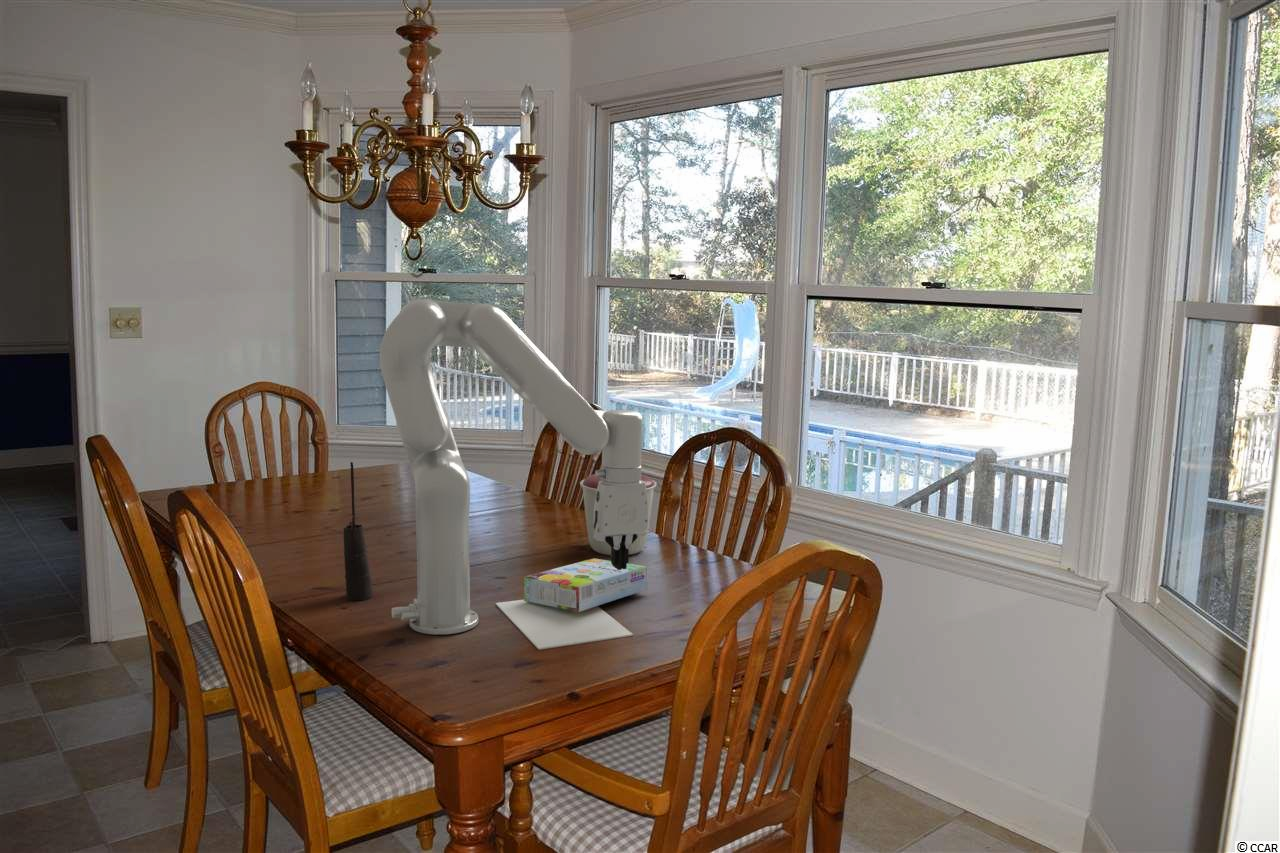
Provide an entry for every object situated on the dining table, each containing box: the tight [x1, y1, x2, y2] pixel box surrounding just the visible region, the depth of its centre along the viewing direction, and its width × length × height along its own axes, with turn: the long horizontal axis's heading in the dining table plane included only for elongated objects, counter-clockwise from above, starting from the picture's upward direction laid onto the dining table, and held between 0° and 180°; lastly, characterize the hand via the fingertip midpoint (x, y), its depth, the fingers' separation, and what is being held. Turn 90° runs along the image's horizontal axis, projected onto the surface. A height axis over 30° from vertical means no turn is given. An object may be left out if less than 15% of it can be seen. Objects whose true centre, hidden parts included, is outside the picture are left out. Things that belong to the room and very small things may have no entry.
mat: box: [495, 599, 634, 651], centre depth 189 cm, size 18×26×1 cm
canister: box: [579, 473, 657, 556], centre depth 235 cm, size 18×18×21 cm
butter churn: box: [343, 461, 374, 602], centre depth 199 cm, size 9×10×28 cm
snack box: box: [523, 557, 649, 612], centre depth 200 cm, size 21×6×15 cm
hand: (619, 567), depth 192 cm, fingers closed
